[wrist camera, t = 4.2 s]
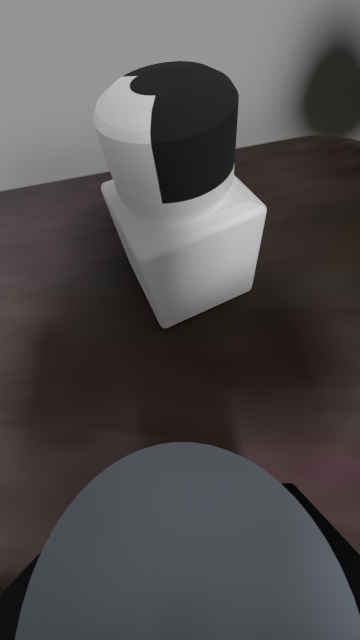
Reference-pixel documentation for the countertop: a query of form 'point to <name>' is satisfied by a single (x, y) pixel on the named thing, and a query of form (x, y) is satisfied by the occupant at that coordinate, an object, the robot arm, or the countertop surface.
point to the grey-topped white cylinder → (187, 557)
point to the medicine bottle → (179, 187)
